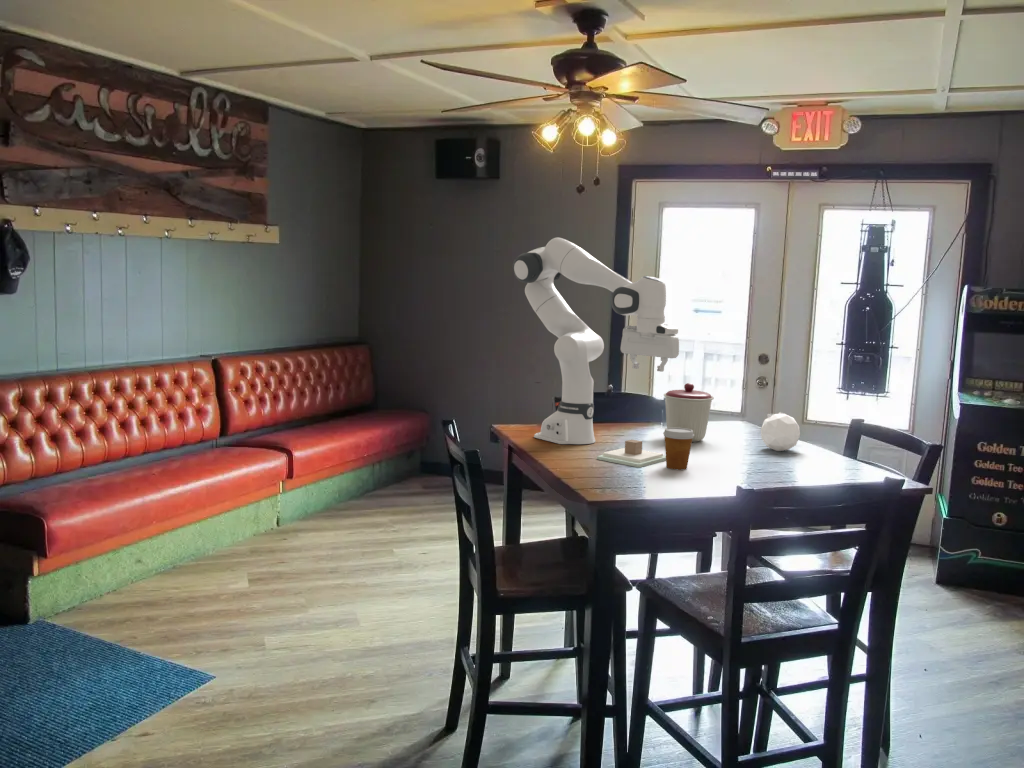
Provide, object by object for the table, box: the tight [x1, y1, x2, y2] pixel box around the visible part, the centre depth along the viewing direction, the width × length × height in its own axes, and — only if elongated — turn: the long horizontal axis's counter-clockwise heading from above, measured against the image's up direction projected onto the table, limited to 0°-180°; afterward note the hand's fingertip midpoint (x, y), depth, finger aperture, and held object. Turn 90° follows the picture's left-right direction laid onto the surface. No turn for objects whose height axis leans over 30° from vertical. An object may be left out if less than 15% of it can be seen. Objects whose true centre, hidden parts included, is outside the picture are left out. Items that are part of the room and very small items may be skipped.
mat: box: [596, 454, 666, 468], centre depth 281 cm, size 16×18×1 cm
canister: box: [663, 382, 714, 443], centre depth 318 cm, size 18×18×21 cm
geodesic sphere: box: [760, 411, 801, 452], centre depth 305 cm, size 14×14×14 cm
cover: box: [602, 439, 664, 463], centre depth 280 cm, size 14×14×5 cm
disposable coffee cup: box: [662, 427, 694, 471], centre depth 270 cm, size 10×10×12 cm
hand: (647, 369), depth 281 cm, fingers open, 8 cm apart
